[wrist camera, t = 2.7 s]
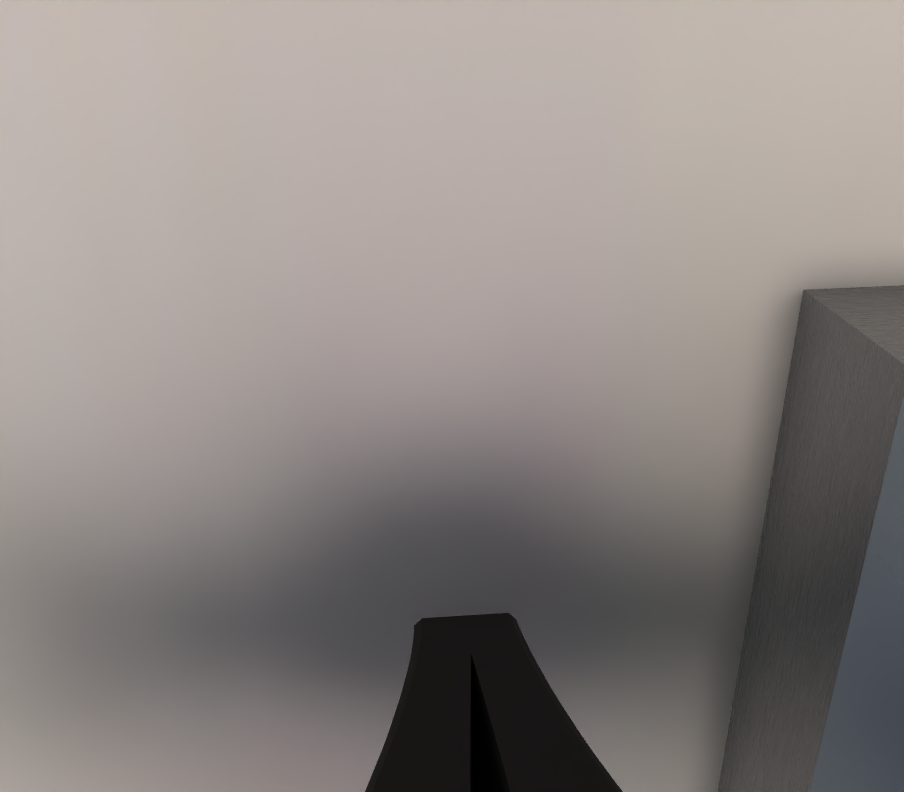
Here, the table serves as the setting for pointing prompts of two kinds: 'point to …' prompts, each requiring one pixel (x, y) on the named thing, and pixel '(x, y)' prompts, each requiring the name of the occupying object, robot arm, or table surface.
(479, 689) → the robot arm
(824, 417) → the steel slab
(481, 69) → the table surface
